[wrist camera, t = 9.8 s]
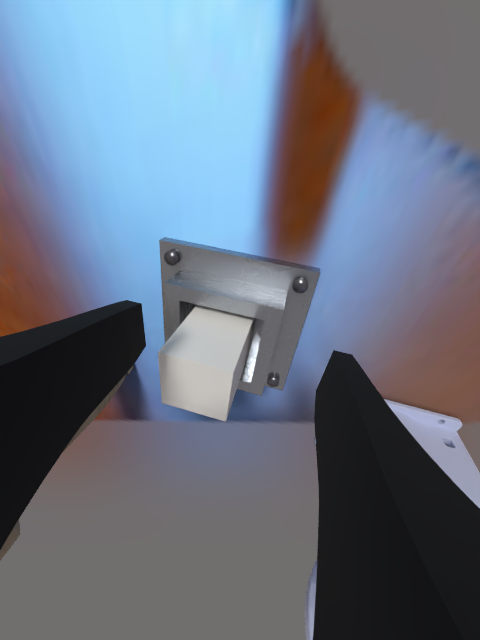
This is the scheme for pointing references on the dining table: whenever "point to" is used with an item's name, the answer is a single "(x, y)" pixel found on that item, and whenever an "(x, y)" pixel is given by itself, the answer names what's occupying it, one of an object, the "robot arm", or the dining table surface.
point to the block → (205, 361)
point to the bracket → (241, 301)
